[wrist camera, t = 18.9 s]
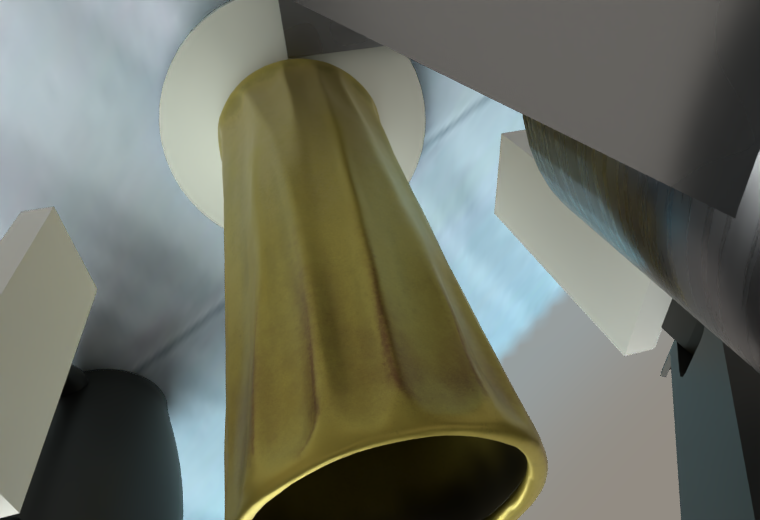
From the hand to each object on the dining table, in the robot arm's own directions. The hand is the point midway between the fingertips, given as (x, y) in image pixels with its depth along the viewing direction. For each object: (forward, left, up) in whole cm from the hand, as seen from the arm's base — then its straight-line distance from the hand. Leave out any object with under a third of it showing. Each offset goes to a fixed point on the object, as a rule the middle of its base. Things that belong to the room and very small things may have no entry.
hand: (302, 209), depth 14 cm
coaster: (0, +1, -7) cm, 6 cm away
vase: (0, +1, -6) cm, 6 cm away
